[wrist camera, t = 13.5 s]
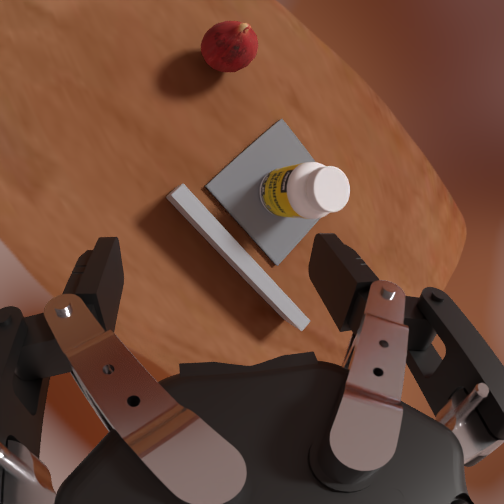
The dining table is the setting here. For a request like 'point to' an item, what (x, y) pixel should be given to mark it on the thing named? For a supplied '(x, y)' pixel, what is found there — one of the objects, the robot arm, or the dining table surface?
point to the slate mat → (248, 191)
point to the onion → (229, 46)
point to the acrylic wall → (235, 255)
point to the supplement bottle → (304, 190)
